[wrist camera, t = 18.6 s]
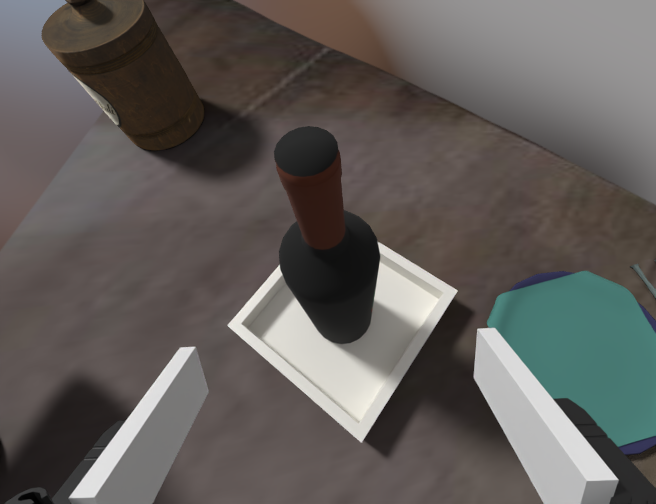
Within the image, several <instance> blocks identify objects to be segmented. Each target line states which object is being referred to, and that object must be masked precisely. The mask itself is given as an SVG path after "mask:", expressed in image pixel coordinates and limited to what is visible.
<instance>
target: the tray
mask: <svg viewBox="0 0 656 504" xmlns="http://www.w3.org/2000/svg"><path fill="white" fill-rule="evenodd" d="M378 246H379V251H380V256H381V257H380V264H379V270H378V277H377V284H376V290H375V297H374V303H373V310H372V317H371V323H370V326H369V328H368V330H367V331H366V333H365V334H364V335H363V336H362V337H361V338H360V339H358V340H356V341H354V342H352V343H347V344H338V343H333V342H331V341H329V340H327V339H325V338H324V337H323V336H322V335H321V334H320V333H319V332H318V330H317V329H316V327H315V326H314V324H313V323H312V321H311V320H310V318H309V317H308V315H307V314H306V313H305V311H304V310H303V308H302V307H301V305H300V304H299V302H298V301H297V299H296V298H295V296H294V295H293V293H292V292H291V290H290V289H289V287H288V286H287V284H286V282H285V280H284V277H283V275H282V272H281V270H280V265H279V266H278V267H277V269H276V270H275V271H274V272H273V273H272V274H271V276H270V277H269V278H268V279H267V280H266V281H265V283H264V284H263V285H262V286H261V287H260V288H259V290H258V291H257V292H256V293H255V294H254V295H253V297H252V298H251V299H250V300H249V301H248V302H247V303H246V305H245V306H244V307H243V308H242V309H241V310H240V312H239V313H238V314H237V315H236V316H235V317H234V319H233V320H232V321H231V322H230V323H229V324H228V327H230V328H231V329H232V330H233V331H234V332H235V333H236V334H238V335H239V336H240V337H241V338H242V339H243V340H244V341H246V342H247V343H248V344H249V345H250V346H251V347H252V348H254V349H255V350H256V351H257V352H258V353H259V354H261V355H262V356H263V357H264V358H265V359H266V360H267V361H269V362H270V363H271V364H272V365H273V366H274V367H275V368H277V369H278V370H279V371H280V372H281V373H282V374H283V375H285V376H286V377H287V378H288V379H289V380H290V381H291V382H293V383H294V384H295V385H296V386H297V387H298V388H299V389H301V390H302V391H303V392H304V393H305V394H306V395H307V396H309V397H310V398H311V399H312V400H313V401H314V402H315V403H317V404H318V405H319V406H320V407H321V408H322V409H323V410H325V411H326V412H327V413H328V414H329V415H330V416H331V417H333V418H334V419H335V420H336V421H337V422H338V423H339V424H341V425H342V426H343V427H344V428H345V429H346V430H347V431H349V432H350V433H351V434H352V435H353V436H354V437H356V438H357V439H358V440H359V441H360V442H361V443H362V441H363V440H364V438H365V436H366V435H367V433H368V432H369V430H370V429H371V427H372V425H373V424H374V422H375V421H376V419H377V417H378V416H379V414H380V413H381V411H382V410H383V408H384V406H385V405H386V403H387V402H388V400H389V398H390V397H391V395H392V394H393V392H394V391H395V389H396V387H397V386H398V384H399V383H400V381H401V380H402V378H403V376H404V375H405V373H406V372H407V370H408V368H409V367H410V365H411V364H412V362H413V361H414V359H415V357H416V356H417V354H418V353H419V351H420V350H421V348H422V346H423V345H424V343H425V342H426V340H427V338H428V337H429V335H430V334H431V332H432V331H433V329H434V327H435V326H436V324H437V323H438V321H439V320H440V318H441V316H442V315H443V313H444V312H445V310H446V308H447V307H448V305H449V304H450V302H451V301H452V299H453V297H454V296H455V294H456V293H457V290H456V289H454V288H452V287H451V286H449V285H448V284H446V283H444V282H443V281H441V280H439V279H438V278H436V277H435V276H433V275H431V274H430V273H428V272H426V271H425V270H423V269H422V268H420V267H418V266H417V265H415V264H413V263H412V262H410V261H408V260H407V259H405V258H404V257H402V256H400V255H399V254H397V253H395V252H394V251H392V250H391V249H389V248H387V247H386V246H384V245H382V244H381V243H379V242H378Z"/></svg>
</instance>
